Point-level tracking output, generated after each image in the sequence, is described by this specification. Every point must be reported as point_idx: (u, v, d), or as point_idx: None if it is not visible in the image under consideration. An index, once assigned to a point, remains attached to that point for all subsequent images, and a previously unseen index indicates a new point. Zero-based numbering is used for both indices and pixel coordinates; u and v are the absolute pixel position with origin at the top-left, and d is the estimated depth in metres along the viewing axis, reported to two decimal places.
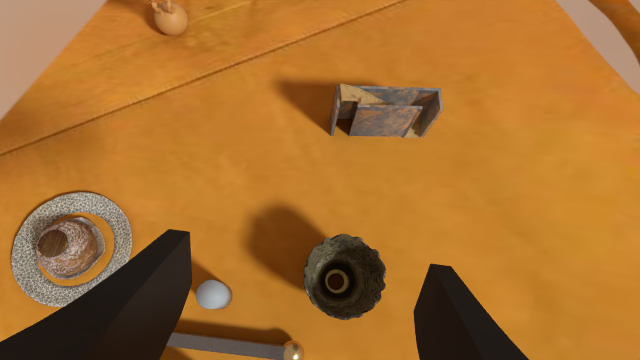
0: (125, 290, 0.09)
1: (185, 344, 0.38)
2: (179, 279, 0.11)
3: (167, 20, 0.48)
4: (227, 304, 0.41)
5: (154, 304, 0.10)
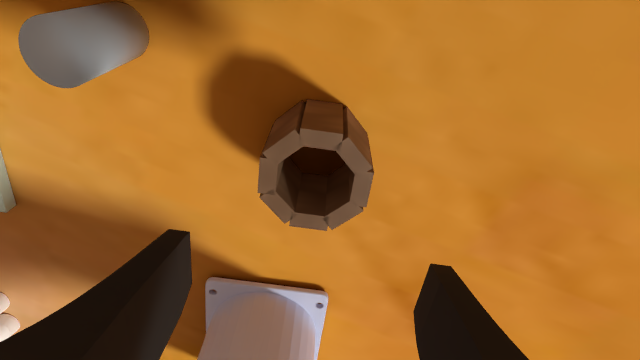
0: (125, 290, 0.09)
1: None
2: (179, 279, 0.11)
3: None
4: None
5: (154, 304, 0.10)
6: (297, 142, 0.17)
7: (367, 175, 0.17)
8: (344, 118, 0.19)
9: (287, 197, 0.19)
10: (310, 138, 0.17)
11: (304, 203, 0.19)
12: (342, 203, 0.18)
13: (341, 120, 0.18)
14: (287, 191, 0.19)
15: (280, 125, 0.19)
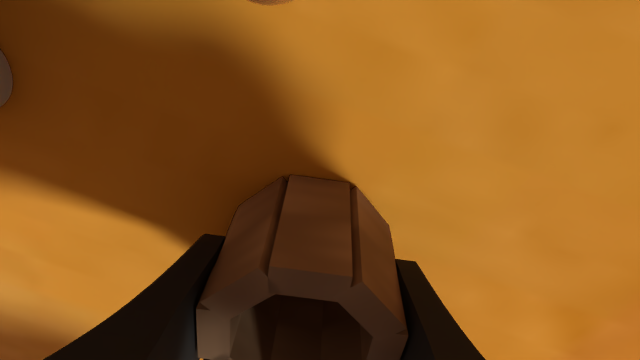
0: (172, 296, 0.09)
1: None
2: None
3: None
4: None
5: None
6: (264, 288, 0.09)
7: (396, 338, 0.09)
8: (353, 217, 0.11)
9: (254, 356, 0.11)
10: (288, 282, 0.09)
11: (284, 358, 0.11)
12: None
13: (348, 231, 0.10)
14: (255, 339, 0.11)
15: (241, 229, 0.11)
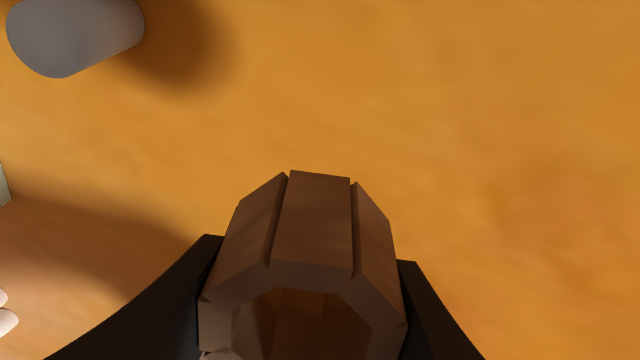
0: (173, 296, 0.09)
1: None
2: None
3: None
4: None
5: (196, 309, 0.10)
6: (265, 280, 0.09)
7: (396, 331, 0.10)
8: (353, 211, 0.11)
9: (255, 349, 0.11)
10: (289, 275, 0.09)
11: (285, 351, 0.11)
12: None
13: (348, 224, 0.10)
14: (256, 332, 0.11)
15: (242, 223, 0.11)
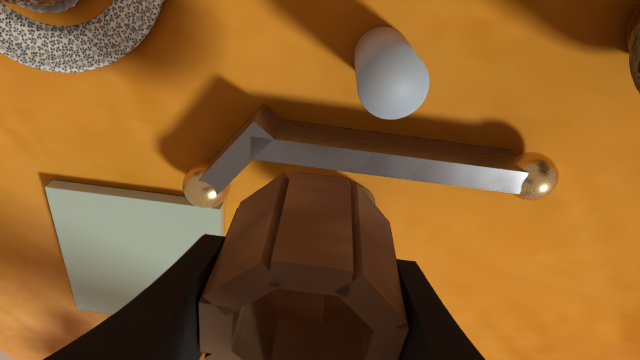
0: (172, 296, 0.09)
1: (328, 162, 0.19)
2: None
3: None
4: None
5: (196, 309, 0.10)
6: (266, 282, 0.09)
7: (396, 332, 0.10)
8: (353, 213, 0.11)
9: (256, 351, 0.11)
10: (289, 277, 0.09)
11: (286, 352, 0.11)
12: None
13: (349, 226, 0.10)
14: (257, 334, 0.11)
15: (243, 225, 0.11)
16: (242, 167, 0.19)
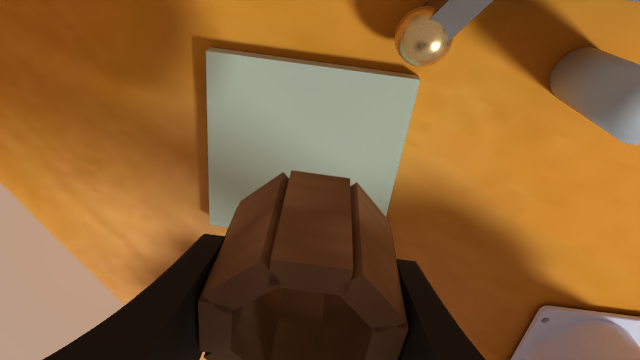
0: (172, 296, 0.09)
1: None
2: None
3: None
4: None
5: (196, 309, 0.10)
6: (266, 281, 0.09)
7: (396, 331, 0.10)
8: (353, 212, 0.11)
9: (255, 349, 0.11)
10: (289, 276, 0.09)
11: (285, 351, 0.11)
12: None
13: (348, 225, 0.10)
14: (256, 333, 0.11)
15: (243, 224, 0.11)
16: None
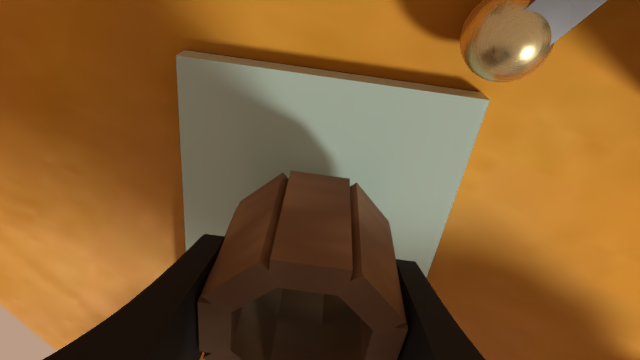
0: (172, 296, 0.09)
1: None
2: None
3: None
4: None
5: (196, 309, 0.10)
6: (265, 281, 0.09)
7: (396, 332, 0.10)
8: (353, 212, 0.11)
9: (255, 350, 0.11)
10: (288, 276, 0.09)
11: (285, 352, 0.11)
12: None
13: (348, 225, 0.10)
14: (256, 333, 0.11)
15: (242, 224, 0.11)
16: None
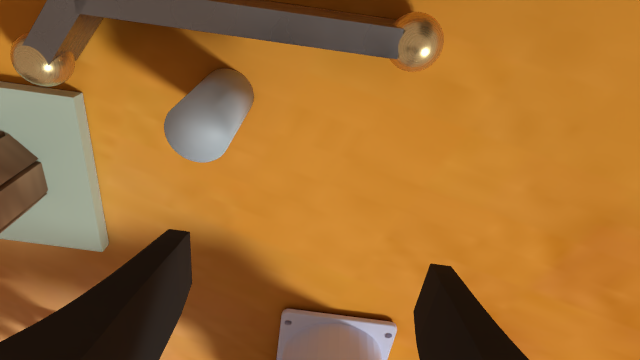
0: (125, 290, 0.09)
1: (168, 17, 0.16)
2: (179, 279, 0.11)
3: None
4: None
5: (154, 304, 0.10)
6: None
7: None
8: None
9: None
10: None
11: None
12: None
13: None
14: None
15: None
16: (70, 25, 0.16)
